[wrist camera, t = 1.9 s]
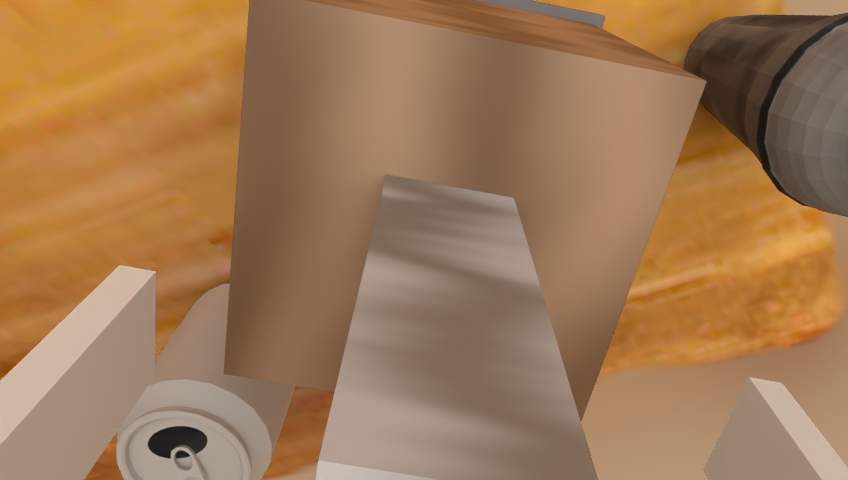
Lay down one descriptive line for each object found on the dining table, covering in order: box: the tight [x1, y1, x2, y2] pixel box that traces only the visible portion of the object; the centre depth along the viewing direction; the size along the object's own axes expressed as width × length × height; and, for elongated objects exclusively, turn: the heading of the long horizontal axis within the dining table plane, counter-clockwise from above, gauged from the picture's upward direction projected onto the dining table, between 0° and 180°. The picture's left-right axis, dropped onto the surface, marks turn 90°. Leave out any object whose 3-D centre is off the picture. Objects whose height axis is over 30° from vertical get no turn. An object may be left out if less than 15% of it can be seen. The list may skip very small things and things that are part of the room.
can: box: [116, 283, 296, 480], centre depth 35 cm, size 8×8×12 cm
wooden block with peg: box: [223, 0, 707, 480], centre depth 22 cm, size 13×13×27 cm
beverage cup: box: [684, 13, 848, 217], centre depth 24 cm, size 7×7×20 cm
